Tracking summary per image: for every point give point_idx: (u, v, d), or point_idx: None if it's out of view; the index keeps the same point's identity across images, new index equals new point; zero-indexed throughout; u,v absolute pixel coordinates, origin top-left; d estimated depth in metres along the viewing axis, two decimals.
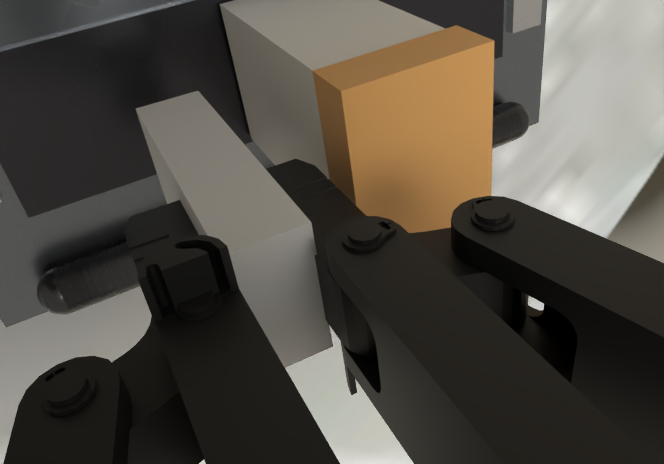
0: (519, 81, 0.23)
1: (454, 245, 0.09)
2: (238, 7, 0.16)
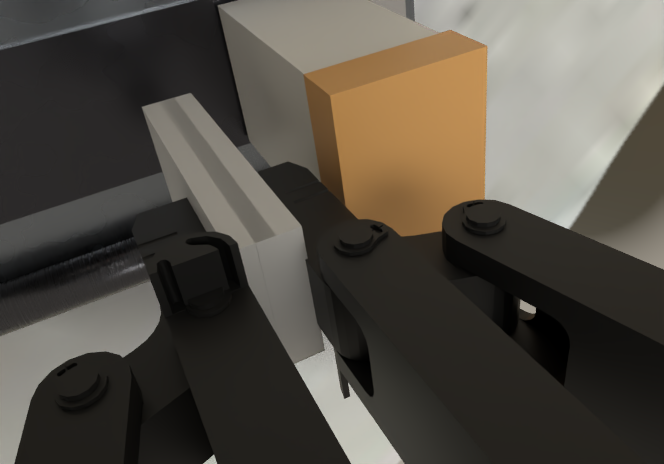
0: None
1: (445, 249, 0.09)
2: (236, 9, 0.16)
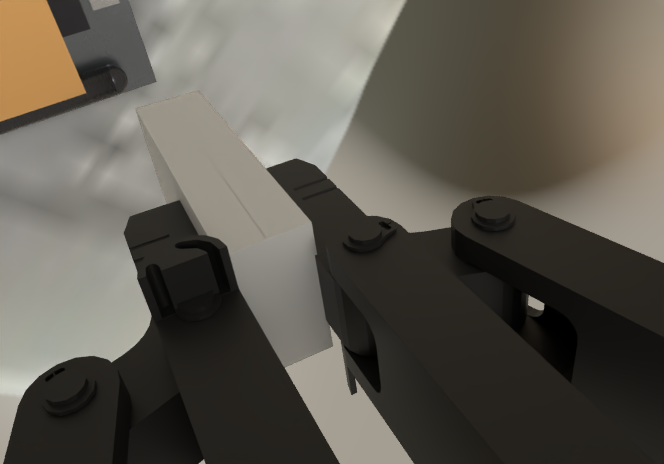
0: (121, 48, 0.29)
1: (454, 245, 0.09)
2: None
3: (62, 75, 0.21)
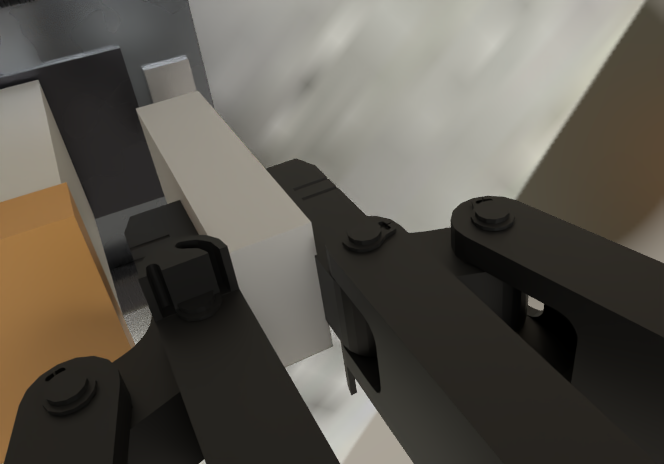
0: None
1: (454, 245, 0.09)
2: None
3: None
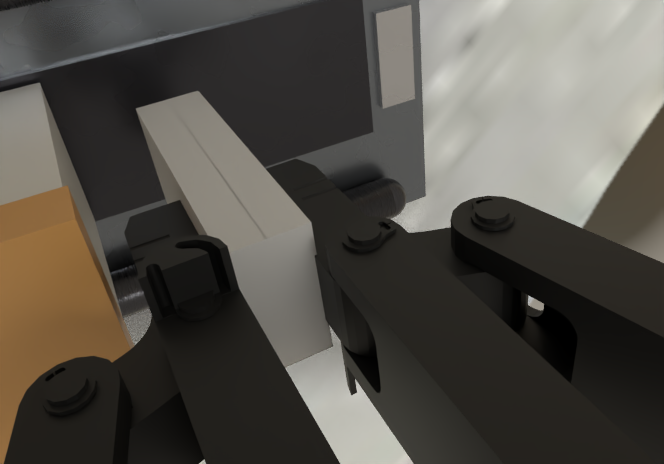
0: (398, 155, 0.21)
1: (454, 245, 0.09)
2: None
3: None
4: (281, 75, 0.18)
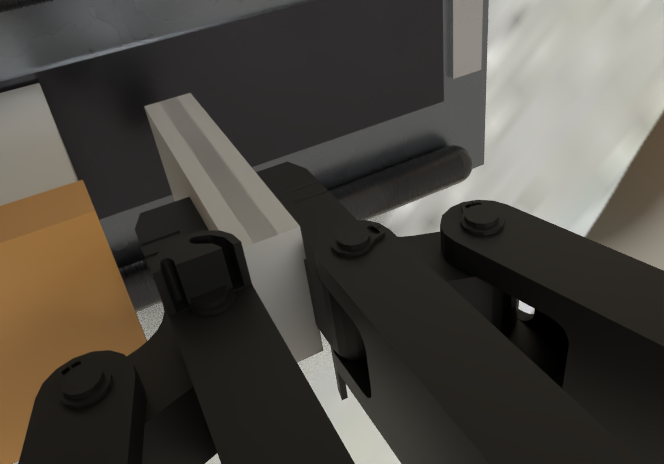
0: (462, 124, 0.23)
1: (444, 249, 0.09)
2: None
3: None
4: (369, 46, 0.19)
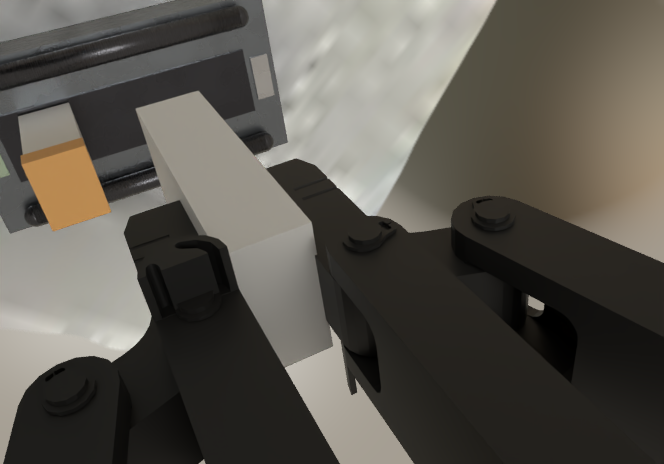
0: (270, 122, 0.45)
1: (454, 244, 0.09)
2: (23, 119, 0.37)
3: (97, 202, 0.34)
4: (209, 85, 0.42)
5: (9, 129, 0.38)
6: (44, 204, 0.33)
